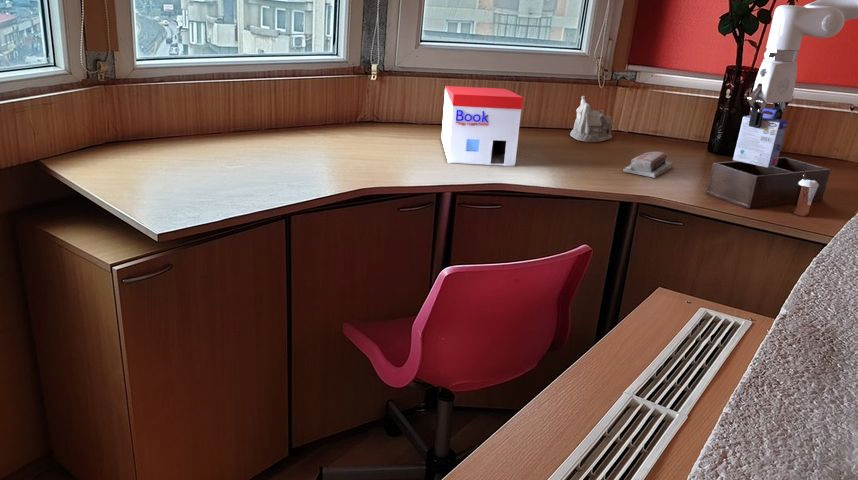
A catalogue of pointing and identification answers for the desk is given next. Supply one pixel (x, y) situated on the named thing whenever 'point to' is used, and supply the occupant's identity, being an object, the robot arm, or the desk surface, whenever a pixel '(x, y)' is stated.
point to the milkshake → (805, 196)
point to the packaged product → (649, 164)
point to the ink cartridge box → (760, 140)
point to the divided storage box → (764, 182)
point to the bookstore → (481, 125)
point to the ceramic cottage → (591, 124)
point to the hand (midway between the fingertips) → (763, 126)
